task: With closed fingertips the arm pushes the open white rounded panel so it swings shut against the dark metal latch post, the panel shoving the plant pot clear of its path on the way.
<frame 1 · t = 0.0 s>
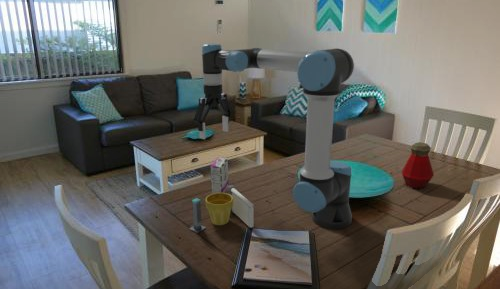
hand: (214, 134, 161), 28 cm above the table, fingers open, 13 cm apart
hinge post: (231, 210, 157), on the table
candy bar box: (220, 197, 169), on the table
white rounded panel: (240, 205, 148), point 6 cm above the table, hinge at 68.0°
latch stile: (197, 228, 143), on the table
plant pot: (219, 221, 148), on the table
bottle: (415, 185, 180), on the table
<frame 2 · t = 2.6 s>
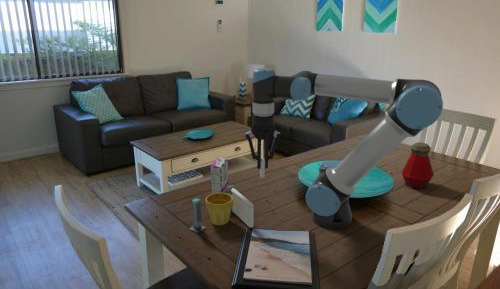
hand: (262, 176, 141), 19 cm above the table, fingers closed
nothing on the table moved.
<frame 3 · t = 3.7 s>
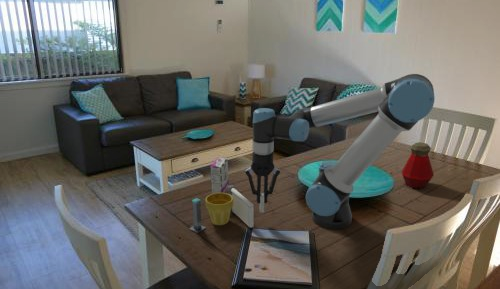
hand: (261, 210, 146), 5 cm above the table, fingers closed
nothing on the table moved.
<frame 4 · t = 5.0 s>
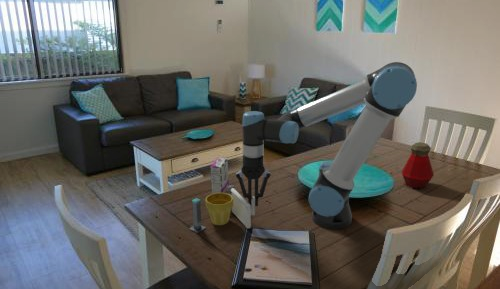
hand: (253, 213, 146), 4 cm above the table, fingers closed
white rounded panel: (239, 205, 148), point 6 cm above the table, hinge at 64.0°, touching gripper
everything else where it was.
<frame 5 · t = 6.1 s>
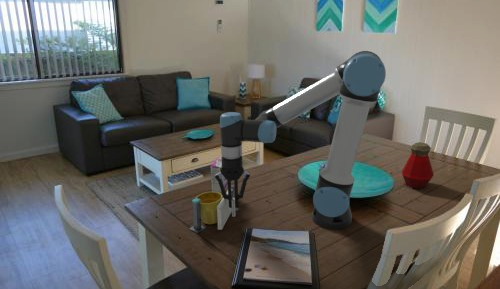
hand: (233, 214, 145), 4 cm above the table, fingers closed
white rounded panel: (226, 206, 148), point 6 cm above the table, hinge at 27.1°, touching gripper
plant pot: (211, 220, 148), on the table
everything else where it was.
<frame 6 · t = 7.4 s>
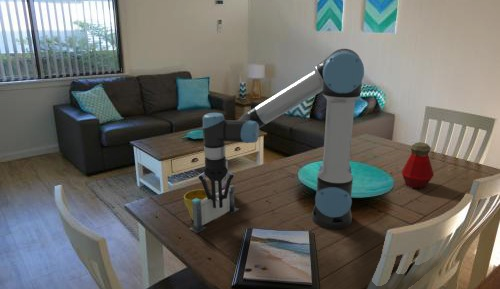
hand: (218, 215, 145), 4 cm above the table, fingers closed
white rounded panel: (217, 204, 149), point 6 cm above the table, hinge at -0.1°, touching plant pot, gripper
plant pot: (199, 218, 151), on the table, touching white rounded panel
everything else where it was.
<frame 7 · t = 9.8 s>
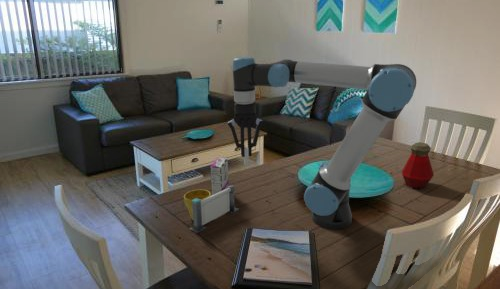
hand: (246, 164, 144), 22 cm above the table, fingers closed
white rounded panel: (217, 204, 149), point 6 cm above the table, hinge at -0.1°, touching plant pot
everything else where it was.
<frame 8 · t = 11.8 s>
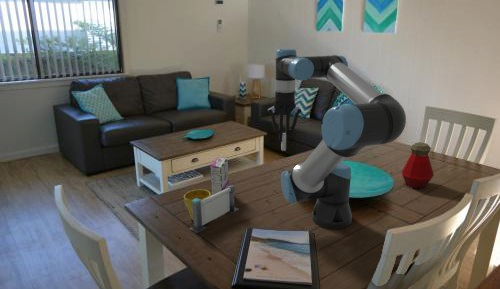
hand: (283, 149, 154), 24 cm above the table, fingers closed
nothing on the table moved.
at the end: white rounded panel at +0° (first picture: +68°); plant pot inside the target area (8.8 cm from its centre), on the table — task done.
